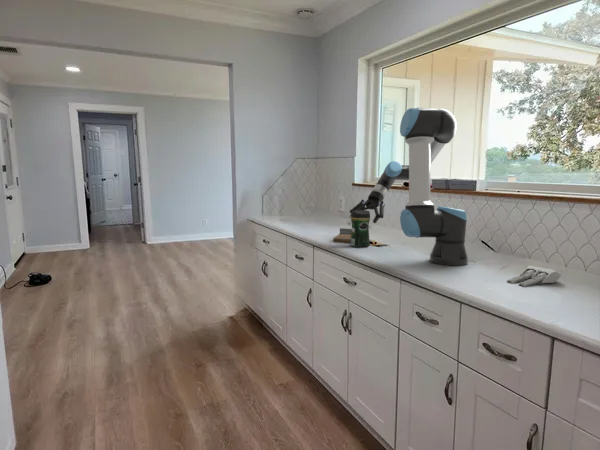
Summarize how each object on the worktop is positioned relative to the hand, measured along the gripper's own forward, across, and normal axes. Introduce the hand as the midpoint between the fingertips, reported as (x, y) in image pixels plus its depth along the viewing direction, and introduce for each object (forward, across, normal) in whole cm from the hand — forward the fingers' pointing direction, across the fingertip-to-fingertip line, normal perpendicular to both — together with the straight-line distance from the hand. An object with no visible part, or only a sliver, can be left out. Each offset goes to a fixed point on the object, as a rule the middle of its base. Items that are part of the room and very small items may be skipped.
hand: (358, 225), depth 192 cm
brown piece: (0, +15, -15) cm, 21 cm away
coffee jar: (+7, 0, -8) cm, 11 cm away
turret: (+10, -80, -6) cm, 81 cm away
